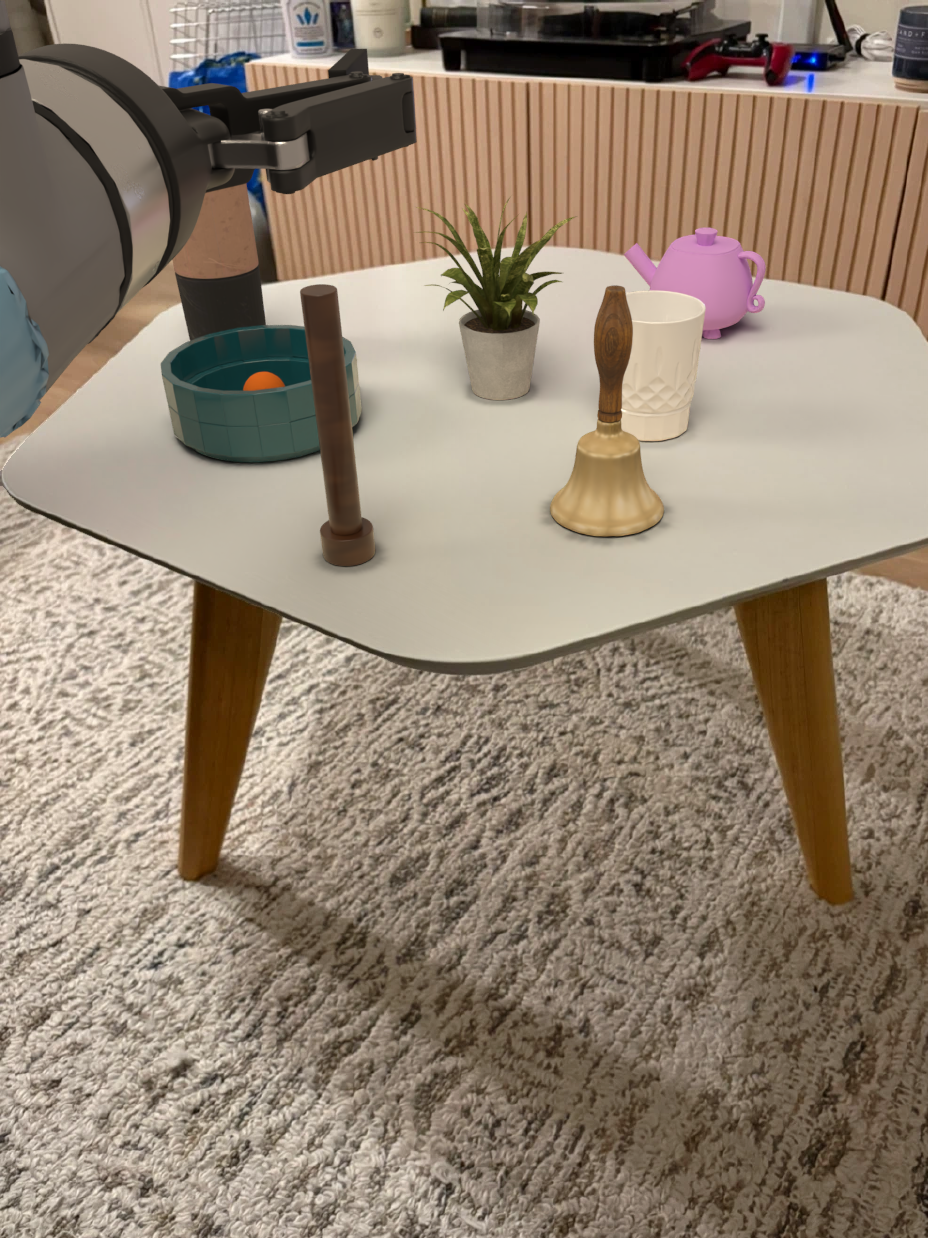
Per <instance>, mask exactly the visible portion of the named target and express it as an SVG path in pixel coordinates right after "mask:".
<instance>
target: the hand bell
mask: <svg viewBox="0 0 928 1238" xmlns="http://www.w3.org/2000/svg"><path fill="white" fill-rule="evenodd" d="M626 293H627V292H626V287H624V286H622V285H618V284H616V285H607V286H606V288H605V290H604V294H603V298H602V301H601V304H600V305H599V306H600V307H599V309H598V311H597V315H596V319H595V322H594V329H593V353H594V361H595V365H596V369H597V374H598V377H599V393H598V403H597V405H598V408H597V414H596V416H597V420H596V429H595V430H593V431H590V432H587V433H585V434H583V435H582V436H581V437H580V438H579V439H578V441H577V444H576V451H575V458H574V464H573V467H572V471H571V474H570V476H569V478H568V480H567V482H566V483H565V485H564V487H562V488H561V489H560V490H558V491H557V492H556V494H555V495H554V496H553V498H552V500H551V502H550V506H549V511H550V515H551V517H552V518H553V519H554V520H555V522H556V523H557V524H559V525H560V526H562V527H564V528H566V529H568V530H570V531H573V532H575V533H579V534H582V535H587V536H592V537H622V536H623V537H624V536H629V535H633V534H638V533H641V532H643V531H646V530H648V529H650V528H652V527H653V526H655V525H656V524H658V523H659V522H660V520H661V519H662V518H663V516H664V513H665V505H664V503H663V501H662V499H661V498H660V496H659V495H658V493H657V492H656V491H655V490H654V489H652V488H651V486H650V485H649V483H648V481H647V479H646V476H645V473H644V469H643V462H642V452H641V442H640V440H638V439H637V438H636V437H635V436H634V435H632V434H630V433H628V432H625V431H623V430H622V428H621V418H622V410H621V409H622V383H623V378H624V374H625V371H626V369H627V366H628V363H629V359H630V355H631V349H632V339H633V325H632V318H631V314H630V310H629V306H628V303H627V299H626Z"/></svg>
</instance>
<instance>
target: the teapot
mask: <svg viewBox="0 0 928 1238" xmlns="http://www.w3.org/2000/svg"><path fill="white" fill-rule="evenodd" d="M694 233H695V234H688V235H684V236H680V237H678V238H676V239H675V240H673V241H672V242H671V243H670V245H669V246H668V248H667V249H666V251H665V252H664V254H663V255H662V257H661V259H660V261H659V262H658V264H657V266H656V265H655V263H653V261H652V260H651V259H650V257H649V256H648V255H647V254H646V252H645V251H644V250H643V248H642V247H641V246H640V245H639V243H638V242H636V243H635V244H634V245H632V246H631V247H629V249H628V250H626V252H624V253H623V256H624V257H625V258H626V260H627V261H628V262H629V263H630V264H631V266H632V267H633V268H634V269H635V271H636V272H637V273H638V274H639V275H640V277H641V278H642V279H643V280H644V282H645V283H646V284H647V285H648V286H649V290H656V291H670V292H677V293H682V294H686V295H689V296H692V297H695V298H697V299H699V300H700V301H702V302H703V303H704V305H705V307H706V310H705V317H704V324H703V332H702V338H704V339H709V340H717V339H720V338H721V337H722V335H721V329H725V328H728V327H732V326H733V325H735V324H737V323H739V322H740V321H741V320H742V319H743V318H744V317H745V316H746V314H747V313H748V312H749V313H751V314H757V313H760V312H762V311H763V310H764V309H765V306H766V299H765V298H764V296H762V295H761V294H757V293H758V292H759V289H760V288H761V285H762V282H763V281H764V278H765V275H766V269H767V267H766V262H765V259H764V258H763V257H762V255H760V254H759V253H757V252H755V251H752V250H744V249H743V247H742V245H741V242H740V241H739V240H737V239H736V238H732V237H728V236H722V235H718V230H717V229H716V228H713V227H699V228H696V229H695V230H694ZM748 260H750V261H752V262H754V264H755V265H756V276H755V279H754V281H753V275H752V270H751V268H750V264H749V261H748ZM755 301H757V305H755Z"/></svg>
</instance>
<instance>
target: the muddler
mask: <svg viewBox="0 0 928 1238" xmlns="http://www.w3.org/2000/svg"><path fill="white" fill-rule="evenodd" d="M299 295H300V304H301V310H302V311H301V312H302V319H303V326H304V328H305V335H306V343H307V351H308V359H309V367H310V375H311V383H312V390H313V398H314V406H315V414H316V422H317V430H318V438H319V445H320V450H319V452H320V460H321V469H322V475H323V477H322V478H323V483H324V492H325V500H326V508H327V514H328V515H327V516H328V520H327V521H325V522H324V523H323V524H322V525H321V527H320V530H319V535H320V542H321V543H320V544H321V550H322V556H323V558H324V560H325V561H326V562H327V563H329V564H330V565H334V566H337V567H353V566H358V565H362V564H364V563H366V562H368V561H370V560H372V559H373V557H374V556H375V554H376V541H375V533H374V524H373V523H372V522H371V521H370V520H369V519H367V518H365V517H363V516H362V508H361V501H360V500H361V498H360V489H359V481H358V471H357V469H358V468H357V459H356V453H355V443H354V432H353V427H352V423H351V413H350V404H349V395H348V385H347V376H346V367H345V357H344V348H343V339H342V337H343V331H342V330H343V329H342V321H341V312H340V303H339V301H340V300H339V292H338V288H337V287H336V286H335V285H331V284H325V283H324V284H322V283H321V284H310V285H307V286H304V287H302V288H301V289H300V291H299Z"/></svg>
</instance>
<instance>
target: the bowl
mask: <svg viewBox="0 0 928 1238" xmlns="http://www.w3.org/2000/svg"><path fill="white" fill-rule="evenodd" d="M342 339H343V348H344V357H345V367H346V376H347V385H348V395H349V404H350V413H351V423H352V428H353V427H355V426H356V425H357V424H358V423H359V420H360V417H361V414H362V411H363V408H362V399H361V388H360V379H359V369H358V359H357V351H356V350H355V347H354V345H353V342H352V341H351V340H349V339H348V338H345V337H344V336H342ZM258 372H270V373H273V374H275V375H276V376H278V377H279V378H280V379H281V380H282V382H283V383H284V385H285V387H278V388H270V389H262V390H254V391H243V388H244V385H245V382H246V381H247V379H248V378H249V377H250V376H252V375H253V374H255V373H258ZM160 373H161V378H162V383H163V387H164V388H163V389H164V392H165V393H164V394H165V399H166V402H167V406H168V411H169V412H168V413H169V416H170V421H171V426H172V431H173V435H174V436H175V437H176V438H177V439H178V440H179V441H181V442H182V443H183V445H185V446H187V447H189V448H191V449H192V450H193V451H195V452H197V453H198V454H200V455H203V456H205V457H209V458H211V459H214V460H215V459H216V460H220V461H225V462H235V463H269V462H278V461H285V460H290V459H295V458H300V457H304V456H307V455H311V454H314V453H317V452H320V445H319V438H318V430H317V422H316V414H315V406H314V398H313V390H312V383H311V375H310V367H309V359H308V351H307V343H306V335H305V328H304V325H294V324H293V325H292V324H266V325H260V326H251V327H242V328H236V329H230V330H226V331H221V332H216V333H212V334H208V335H205V336H202V337H199V338H197V339H194V340H191V341H190V340H188V341H186V342H183V343H182V344H180V345H179V346H177V347H176V348H174V349H172V350H171V351H169V352H168V353H167V354H166V356H165V357H164V358H163V360H162V361H161V362H160Z"/></svg>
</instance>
